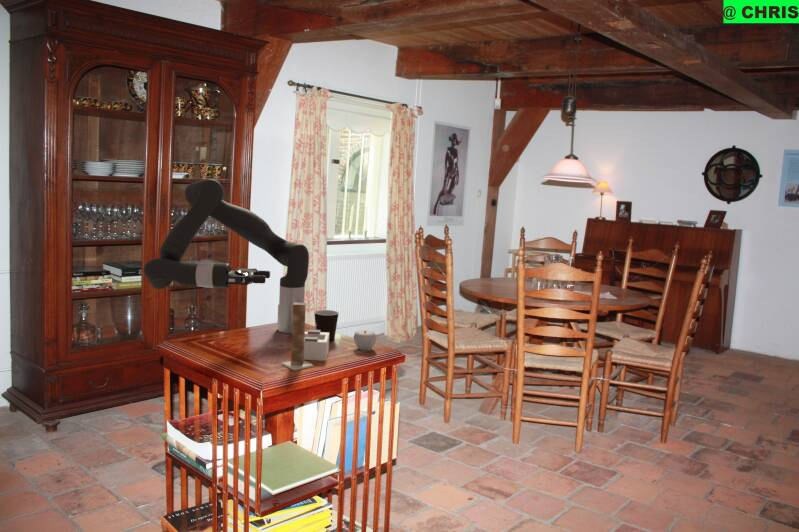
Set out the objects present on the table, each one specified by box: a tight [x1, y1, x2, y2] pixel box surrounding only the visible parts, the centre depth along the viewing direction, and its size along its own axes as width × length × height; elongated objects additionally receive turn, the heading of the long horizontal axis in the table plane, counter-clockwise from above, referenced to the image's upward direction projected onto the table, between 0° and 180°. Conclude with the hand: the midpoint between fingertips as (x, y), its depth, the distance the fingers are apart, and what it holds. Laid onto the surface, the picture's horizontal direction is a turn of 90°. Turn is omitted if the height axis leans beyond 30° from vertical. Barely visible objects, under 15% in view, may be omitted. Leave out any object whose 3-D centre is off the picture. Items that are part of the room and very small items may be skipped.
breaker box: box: [304, 329, 330, 361], centre depth 214 cm, size 10×13×7 cm
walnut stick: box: [290, 302, 307, 366], centre depth 200 cm, size 4×4×19 cm
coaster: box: [281, 360, 314, 371], centre depth 202 cm, size 7×7×1 cm
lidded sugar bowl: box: [353, 330, 377, 351], centre depth 224 cm, size 8×8×7 cm
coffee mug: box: [314, 309, 339, 343], centre depth 235 cm, size 12×9×10 cm
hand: (267, 277), depth 198 cm, fingers open, 8 cm apart
